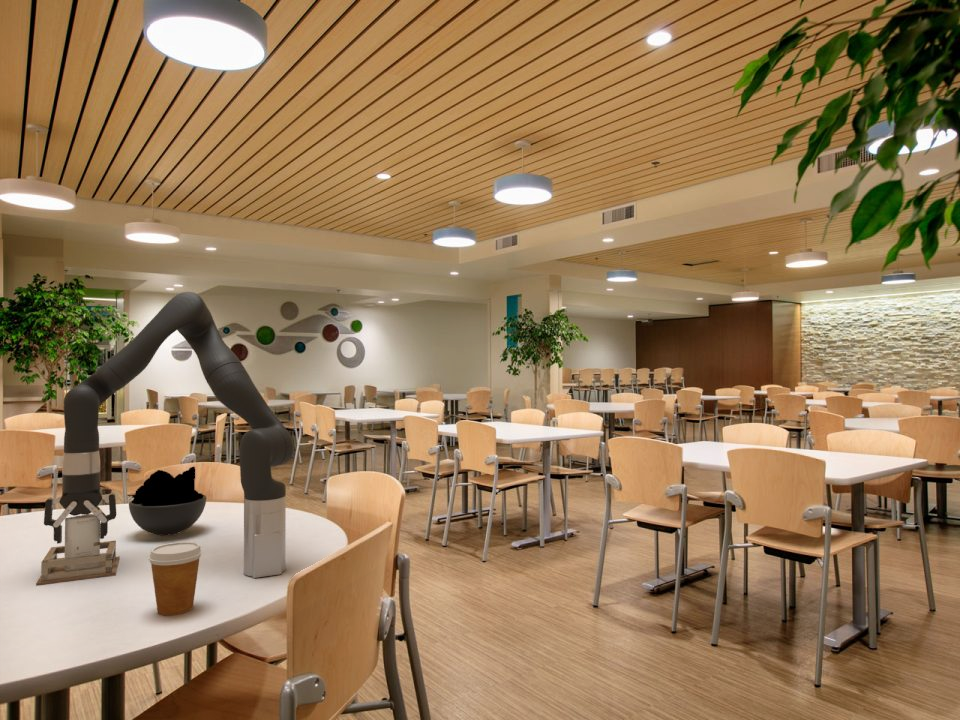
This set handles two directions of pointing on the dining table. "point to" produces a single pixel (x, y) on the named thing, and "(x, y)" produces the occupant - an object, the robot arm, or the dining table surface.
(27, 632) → the dining table surface
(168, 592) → the disposable coffee cup
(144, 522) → the bowl of black rocks
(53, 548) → the shallow wooden tray
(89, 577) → the walnut board
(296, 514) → the dining table surface
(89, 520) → the skincare box
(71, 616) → the dining table surface
